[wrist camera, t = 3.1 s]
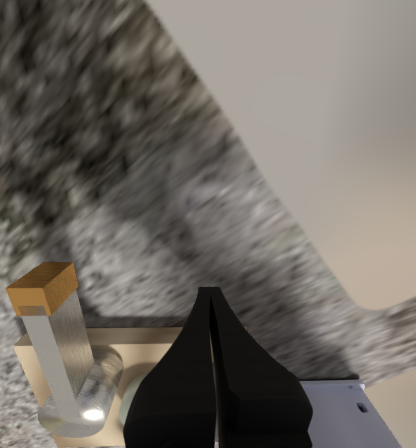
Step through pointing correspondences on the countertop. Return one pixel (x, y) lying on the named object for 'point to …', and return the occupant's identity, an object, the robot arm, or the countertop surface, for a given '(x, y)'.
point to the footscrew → (65, 351)
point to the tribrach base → (132, 376)
